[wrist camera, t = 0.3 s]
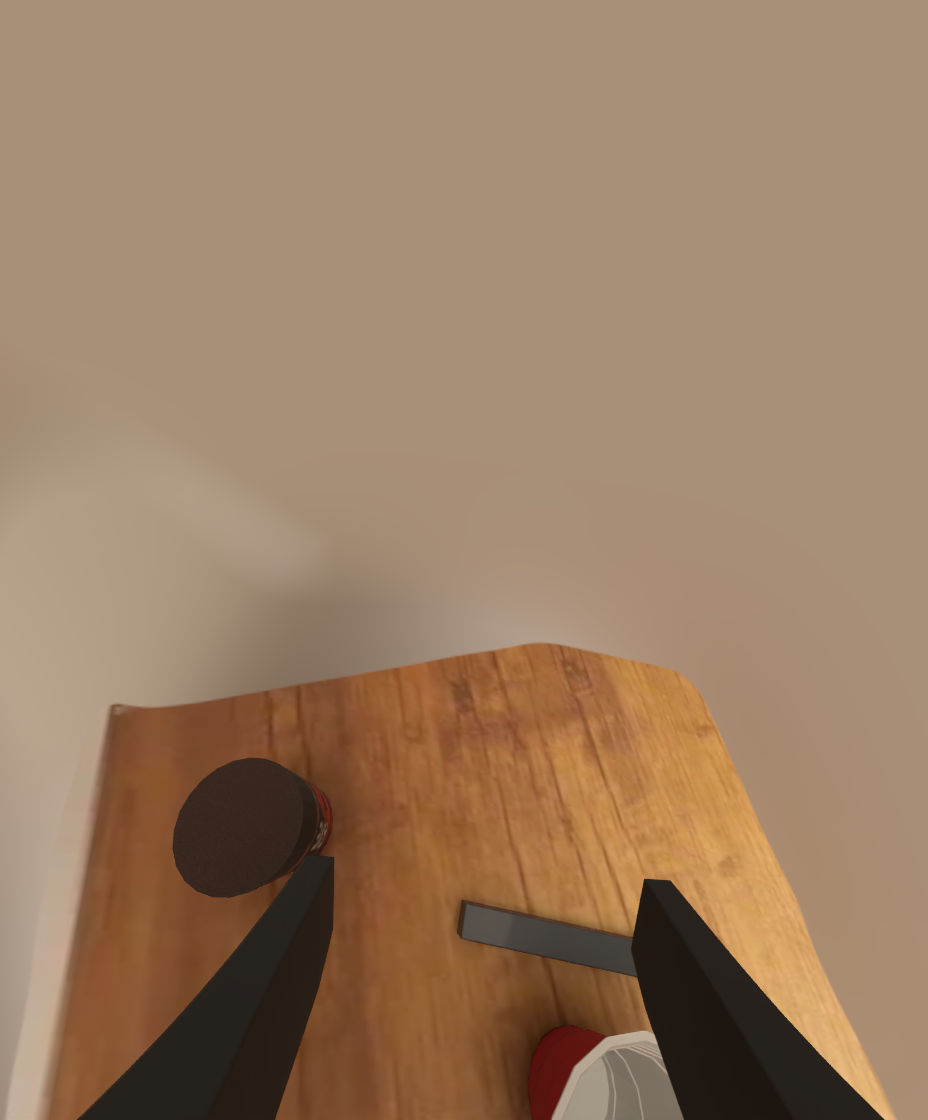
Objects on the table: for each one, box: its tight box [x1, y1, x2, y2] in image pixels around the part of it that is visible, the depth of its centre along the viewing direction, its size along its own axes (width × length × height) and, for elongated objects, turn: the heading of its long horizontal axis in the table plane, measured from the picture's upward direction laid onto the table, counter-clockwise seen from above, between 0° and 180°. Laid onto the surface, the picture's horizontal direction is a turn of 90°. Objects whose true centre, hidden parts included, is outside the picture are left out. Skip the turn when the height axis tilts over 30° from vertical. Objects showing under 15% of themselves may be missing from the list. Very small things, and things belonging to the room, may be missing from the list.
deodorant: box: [173, 758, 333, 897], centre depth 28 cm, size 6×6×15 cm
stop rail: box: [457, 900, 637, 977], centre depth 33 cm, size 2×18×2 cm, turn 79°
